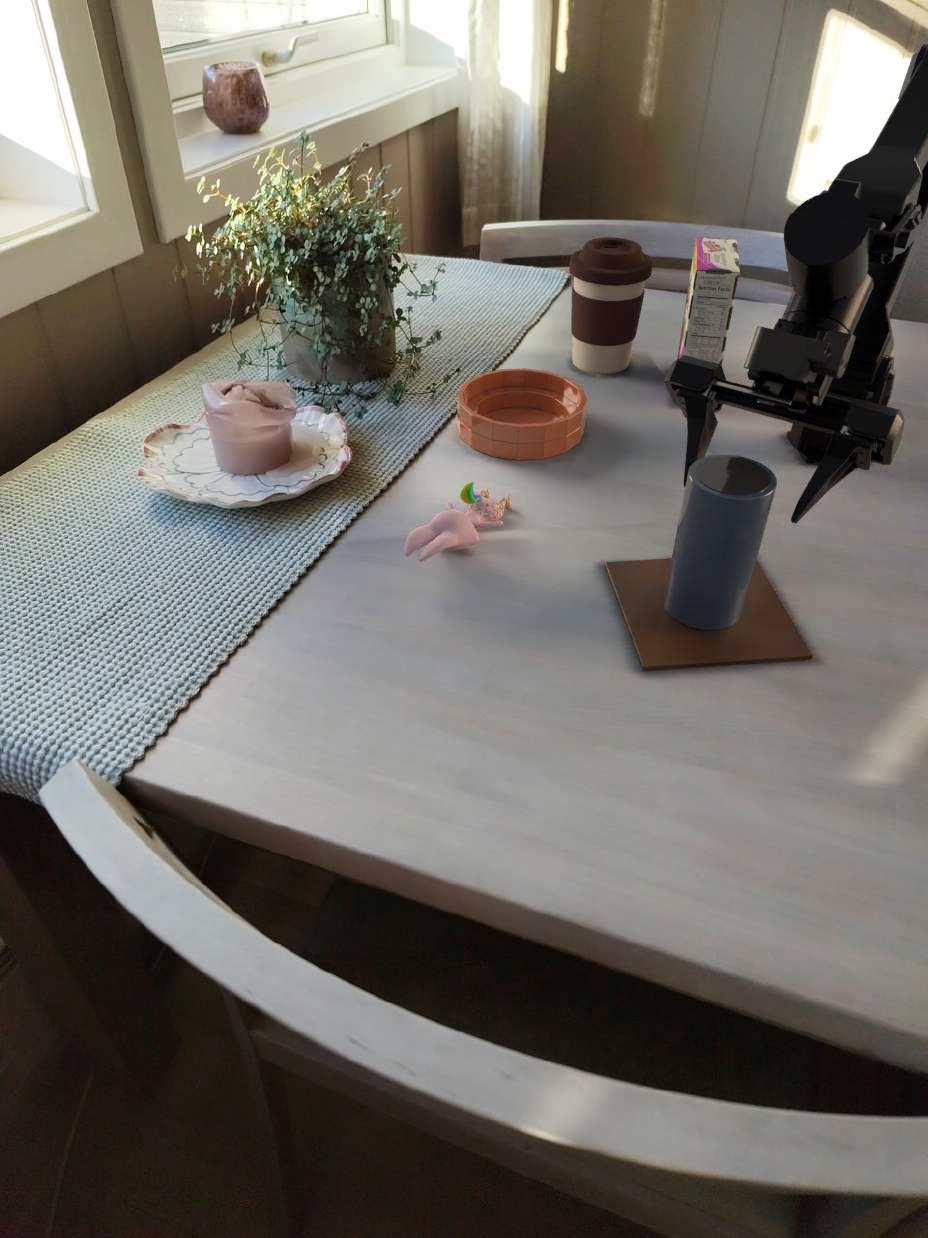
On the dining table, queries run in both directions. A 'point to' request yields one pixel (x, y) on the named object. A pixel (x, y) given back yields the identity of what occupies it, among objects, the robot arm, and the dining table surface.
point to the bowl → (521, 413)
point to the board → (676, 645)
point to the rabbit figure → (457, 524)
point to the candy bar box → (710, 299)
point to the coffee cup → (607, 302)
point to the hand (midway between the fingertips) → (738, 503)
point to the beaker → (718, 540)
